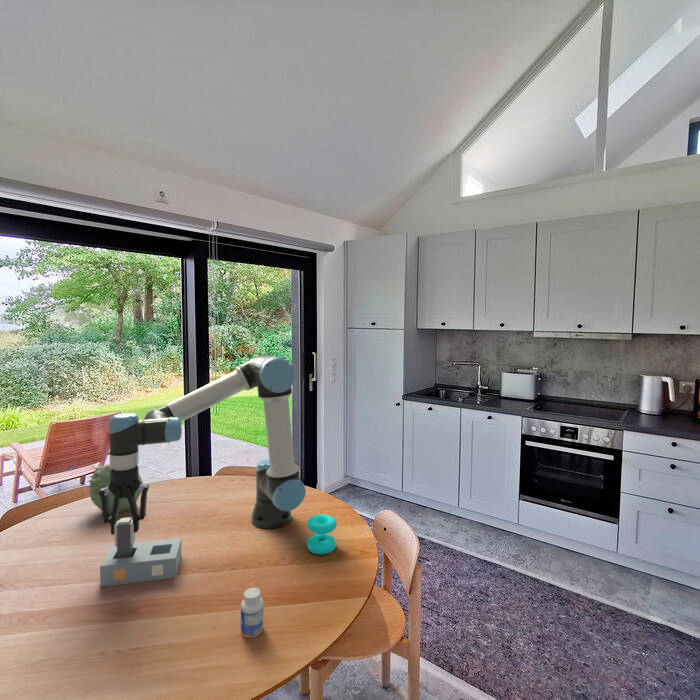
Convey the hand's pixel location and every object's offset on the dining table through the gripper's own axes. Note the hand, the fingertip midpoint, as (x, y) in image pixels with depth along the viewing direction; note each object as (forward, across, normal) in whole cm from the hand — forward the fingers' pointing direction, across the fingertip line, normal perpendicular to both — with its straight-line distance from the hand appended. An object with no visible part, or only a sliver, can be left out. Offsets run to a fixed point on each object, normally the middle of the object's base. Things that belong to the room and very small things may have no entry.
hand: (125, 543), depth 126 cm
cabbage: (+9, +14, -45) cm, 48 cm away
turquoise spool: (+9, -60, -1) cm, 61 cm away
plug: (+7, 0, 0) cm, 7 cm away
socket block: (+9, -5, 0) cm, 10 cm away
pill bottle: (+9, -36, +33) cm, 50 cm away
